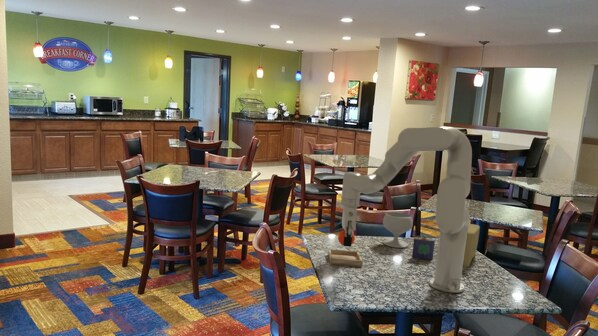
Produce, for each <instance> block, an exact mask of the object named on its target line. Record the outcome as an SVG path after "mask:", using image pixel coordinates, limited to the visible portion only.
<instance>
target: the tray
mask: <svg viewBox="0 0 598 336" xmlns="http://www.w3.org/2000/svg"><path fill="white" fill-rule="evenodd" d="M327 256H328V259H329V260H328V261H329V263H330V264H329V265H330V266H344V267H354V268H355V267H357V268H358V267H360V268H363V266H364V265H363V263H364V262H363V261H364V260H363V259H362V256H361V254H360V252H359V250H358V251H356V250H345V249H331V248H328V253H327Z"/></svg>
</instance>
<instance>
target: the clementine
mask: <svg viewBox="0 0 598 336" xmlns="http://www.w3.org/2000/svg"><path fill="white" fill-rule="evenodd" d="M344 236H345V230H341V231H340V232H339V234H338V238H337V240H338V243H339V244H340V245H341V246H344V245H343V244H344ZM355 239H356V237H355V234H354V232H353V231H352V244H351V246H352V245H353V244H354V242H355ZM344 247H345V246H344Z"/></svg>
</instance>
